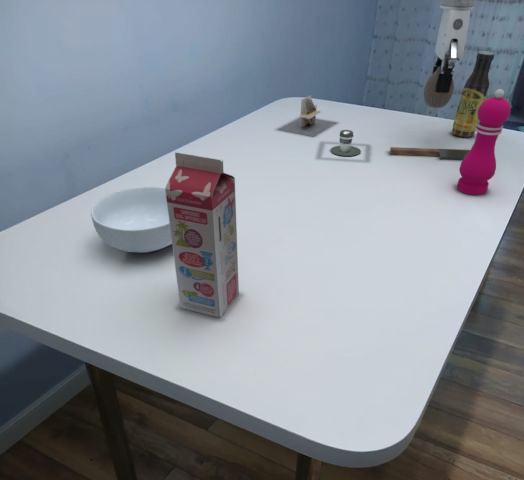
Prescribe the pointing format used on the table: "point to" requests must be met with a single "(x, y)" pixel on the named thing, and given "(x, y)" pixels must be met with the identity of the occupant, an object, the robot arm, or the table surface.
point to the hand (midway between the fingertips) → (439, 87)
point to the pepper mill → (484, 146)
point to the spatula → (431, 152)
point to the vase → (434, 97)
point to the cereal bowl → (133, 219)
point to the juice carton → (203, 234)
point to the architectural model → (307, 120)
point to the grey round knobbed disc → (345, 145)
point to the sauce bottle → (473, 96)
